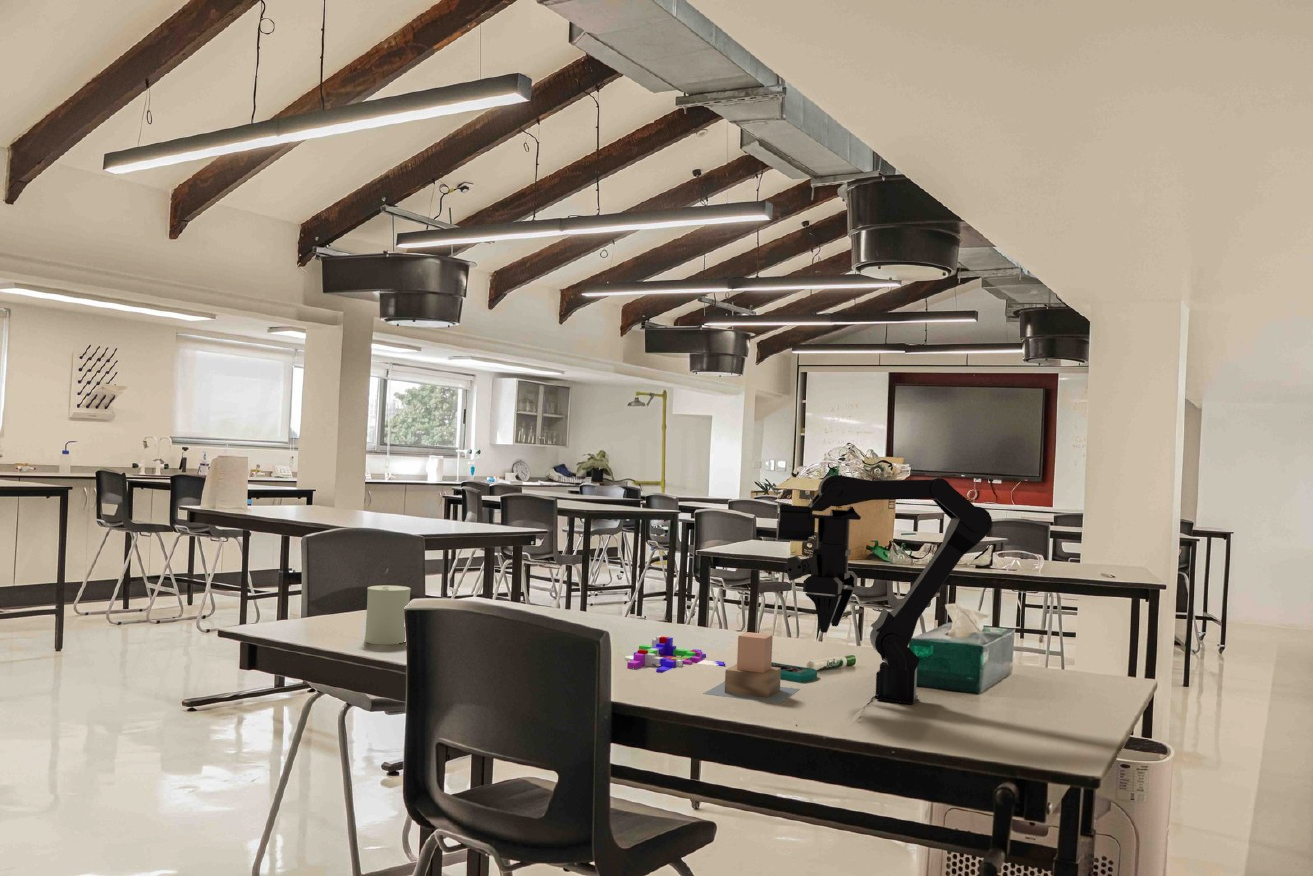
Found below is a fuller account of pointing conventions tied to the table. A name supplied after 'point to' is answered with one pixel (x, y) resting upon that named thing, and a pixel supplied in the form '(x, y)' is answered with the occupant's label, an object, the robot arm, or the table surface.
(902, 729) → the table surface
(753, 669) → the terracotta cube
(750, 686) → the walnut base block
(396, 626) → the can
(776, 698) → the grey flat square plate
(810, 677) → the digital multimeter
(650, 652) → the building block set
